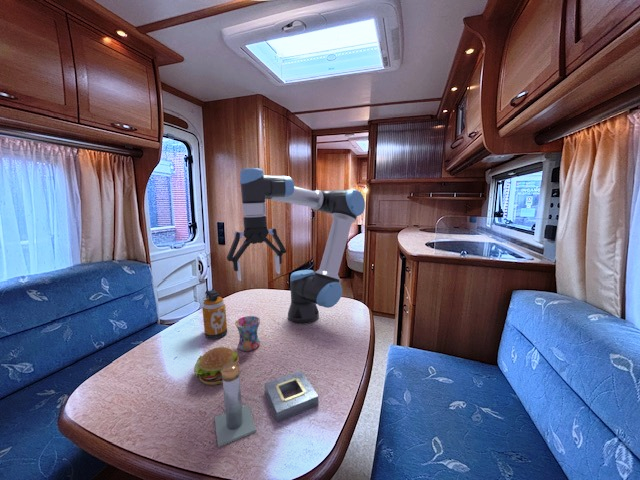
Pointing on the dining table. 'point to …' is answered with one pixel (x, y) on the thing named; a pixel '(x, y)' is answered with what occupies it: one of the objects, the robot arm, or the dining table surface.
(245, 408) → the rest pad
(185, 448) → the dining table surface
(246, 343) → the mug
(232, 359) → the food
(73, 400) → the dining table surface
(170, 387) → the dining table surface
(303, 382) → the plate
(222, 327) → the canister
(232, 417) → the key peg
